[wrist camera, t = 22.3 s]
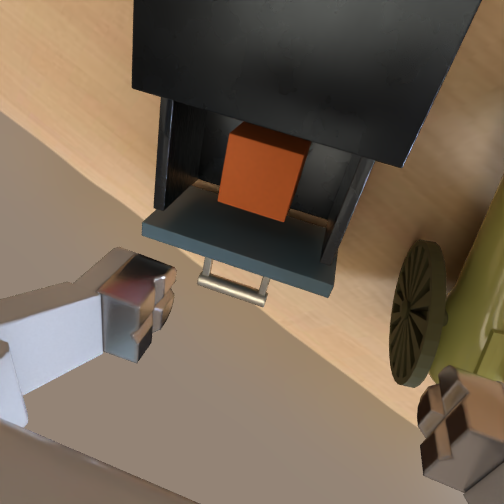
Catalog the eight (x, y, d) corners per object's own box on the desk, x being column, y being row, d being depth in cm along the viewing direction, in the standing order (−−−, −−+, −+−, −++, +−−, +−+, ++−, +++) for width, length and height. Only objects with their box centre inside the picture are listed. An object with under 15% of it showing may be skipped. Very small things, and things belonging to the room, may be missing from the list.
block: (294, 195, 30) (283, 223, 26) (236, 177, 30) (216, 201, 26) (313, 134, 27) (304, 155, 23) (249, 116, 27) (229, 132, 23)
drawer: (317, 286, 35) (307, 345, 29) (178, 240, 37) (138, 286, 30) (402, 81, 25) (416, 101, 18) (203, 26, 26) (151, 28, 20)
